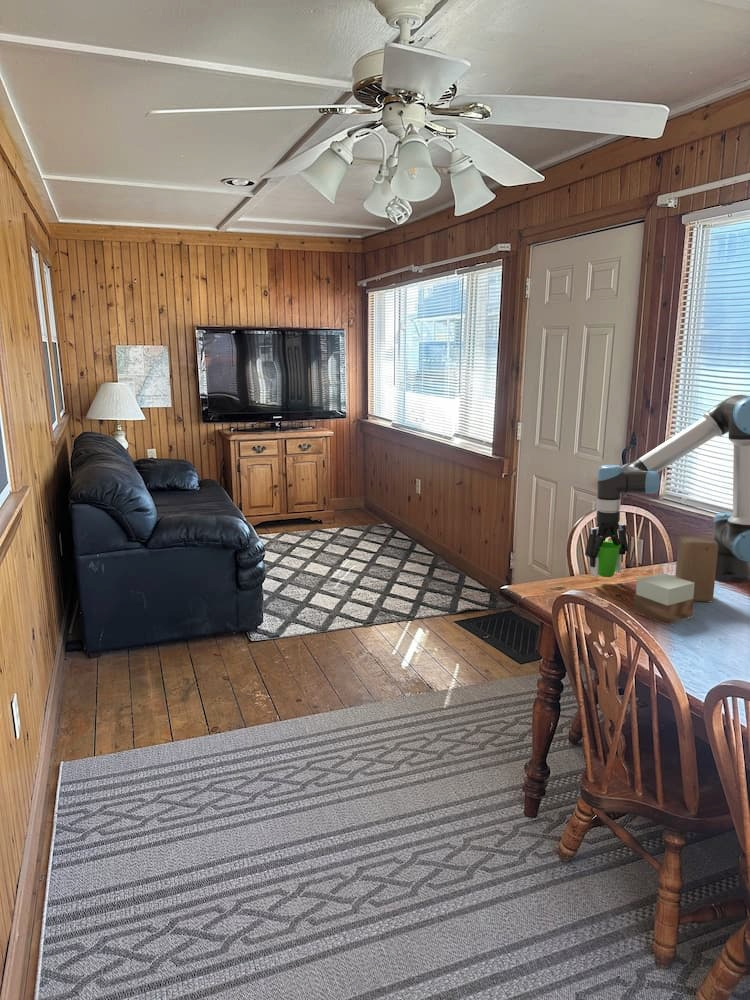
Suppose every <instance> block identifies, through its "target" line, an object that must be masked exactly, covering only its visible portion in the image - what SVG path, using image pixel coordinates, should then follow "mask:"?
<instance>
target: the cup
mask: <svg viewBox="0 0 750 1000" xmlns="http://www.w3.org/2000/svg"><path fill="white" fill-rule="evenodd" d="M620 547H621V545H620V544H619V545H618V546H616V545H614V544H613V541H608V540H607V541H606V540H605V541H603V544H602V546H601V547H599V548H600V551H599V553H598V555H597V557H596V558H599V560H598V577H602V578H612V577H614V575H615V572H616V571H615V568H616V563H617V558H618V553H619V549H620Z"/></svg>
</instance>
